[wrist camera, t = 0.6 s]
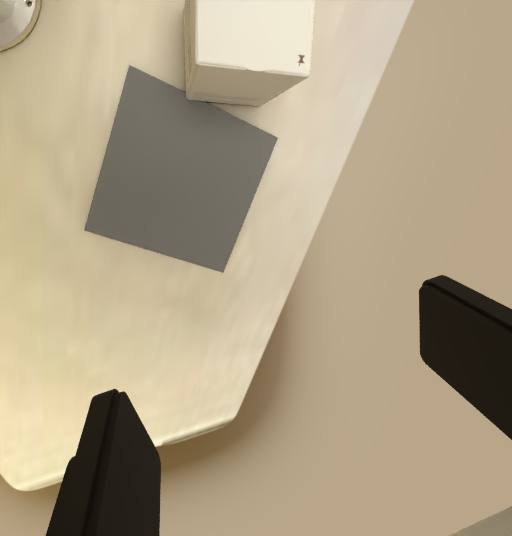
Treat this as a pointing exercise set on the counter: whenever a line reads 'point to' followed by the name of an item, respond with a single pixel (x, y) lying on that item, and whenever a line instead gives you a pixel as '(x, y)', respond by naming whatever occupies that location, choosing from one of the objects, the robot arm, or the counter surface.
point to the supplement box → (246, 48)
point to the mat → (177, 174)
